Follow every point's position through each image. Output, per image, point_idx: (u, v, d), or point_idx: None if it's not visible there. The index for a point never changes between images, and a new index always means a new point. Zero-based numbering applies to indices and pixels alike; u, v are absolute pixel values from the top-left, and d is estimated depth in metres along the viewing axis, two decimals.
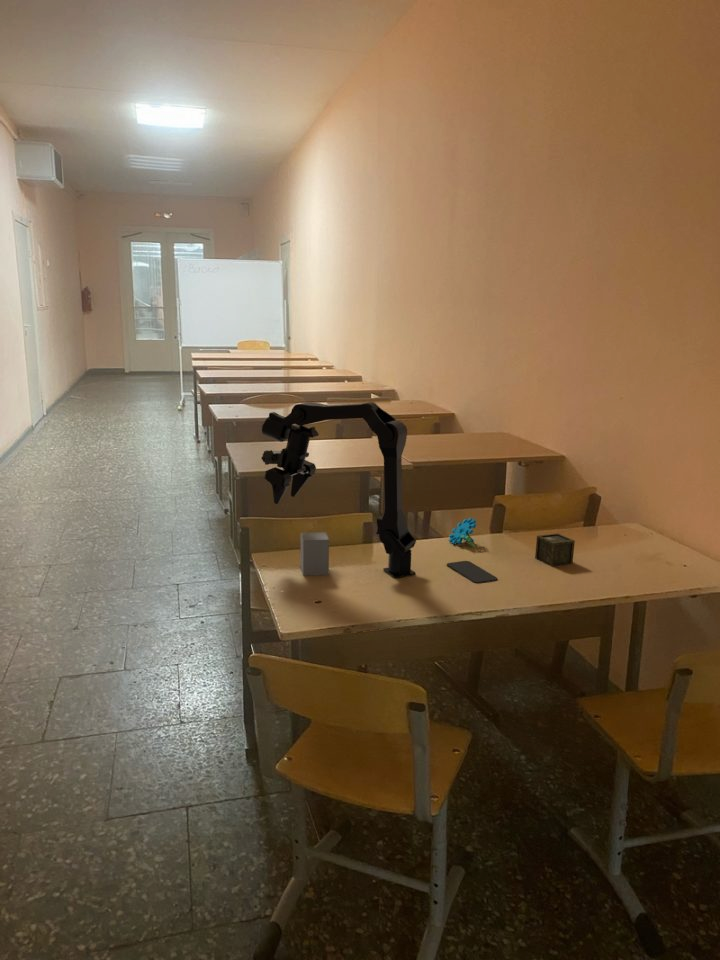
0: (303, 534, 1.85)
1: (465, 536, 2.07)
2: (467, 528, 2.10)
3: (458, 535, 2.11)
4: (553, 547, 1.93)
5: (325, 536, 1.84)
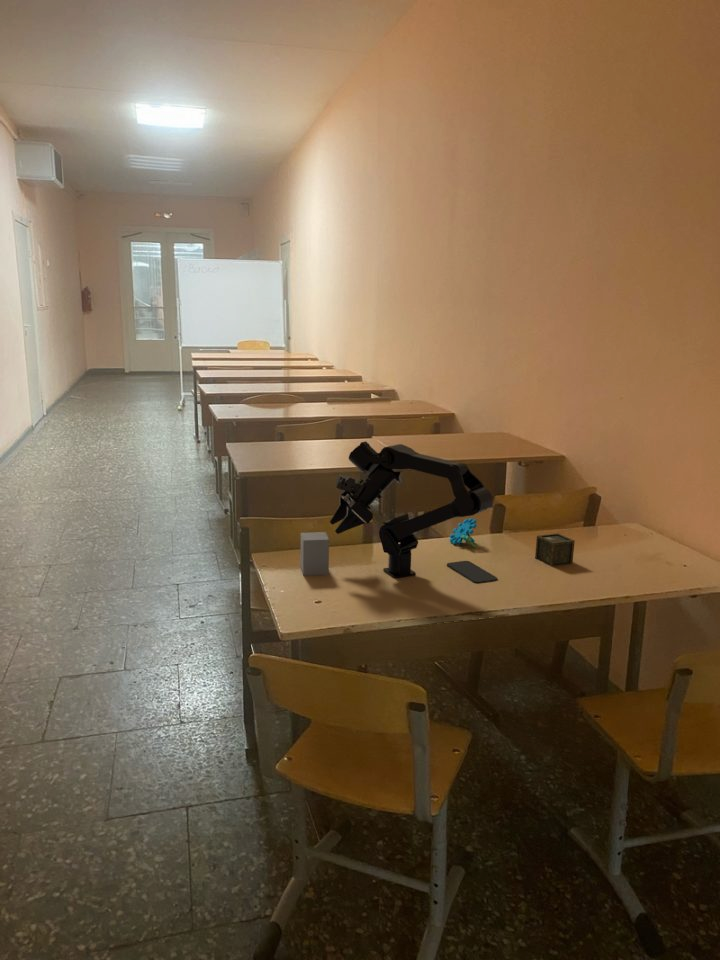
0: (303, 534, 1.85)
1: (465, 536, 2.07)
2: (467, 528, 2.10)
3: (458, 535, 2.11)
4: (553, 547, 1.93)
5: (325, 536, 1.84)
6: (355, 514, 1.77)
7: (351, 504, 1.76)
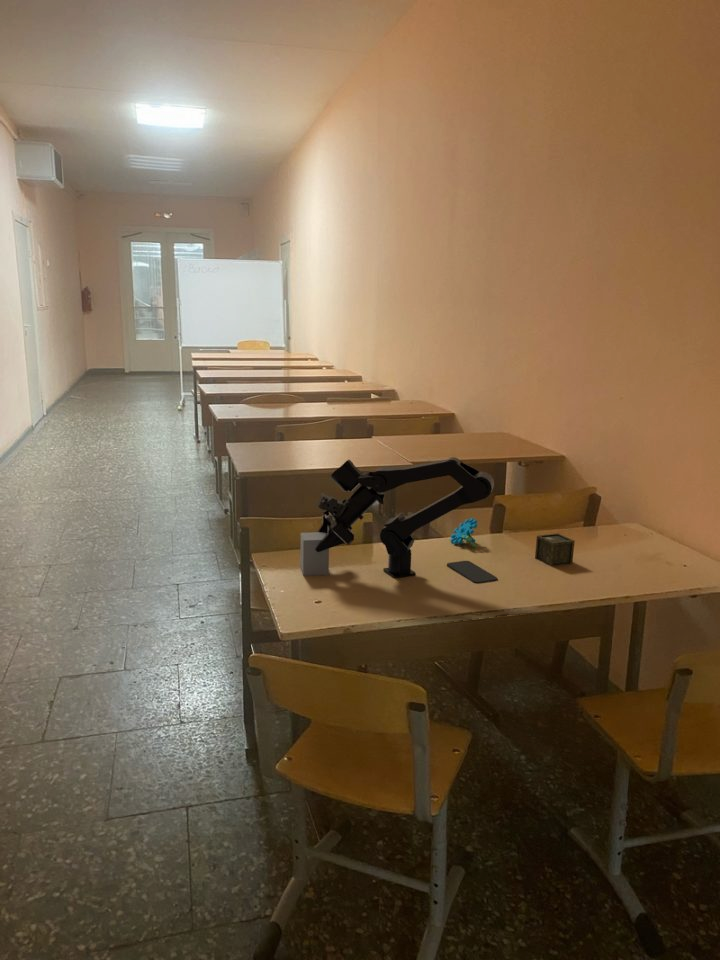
0: (303, 534, 1.85)
1: (466, 536, 2.07)
2: (468, 528, 2.10)
3: (459, 535, 2.11)
4: (553, 547, 1.93)
5: None
6: (335, 534, 1.78)
7: (332, 525, 1.76)
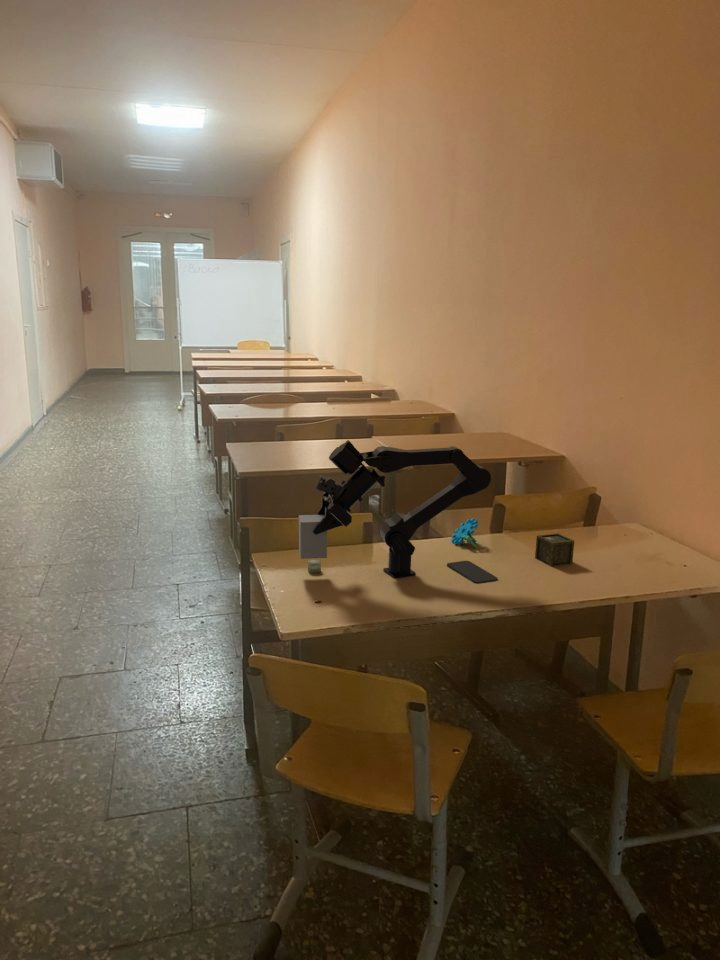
0: (301, 516, 1.80)
1: (466, 536, 2.07)
2: (469, 528, 2.10)
3: (460, 535, 2.11)
4: (552, 547, 1.93)
5: None
6: (333, 515, 1.72)
7: (330, 506, 1.71)
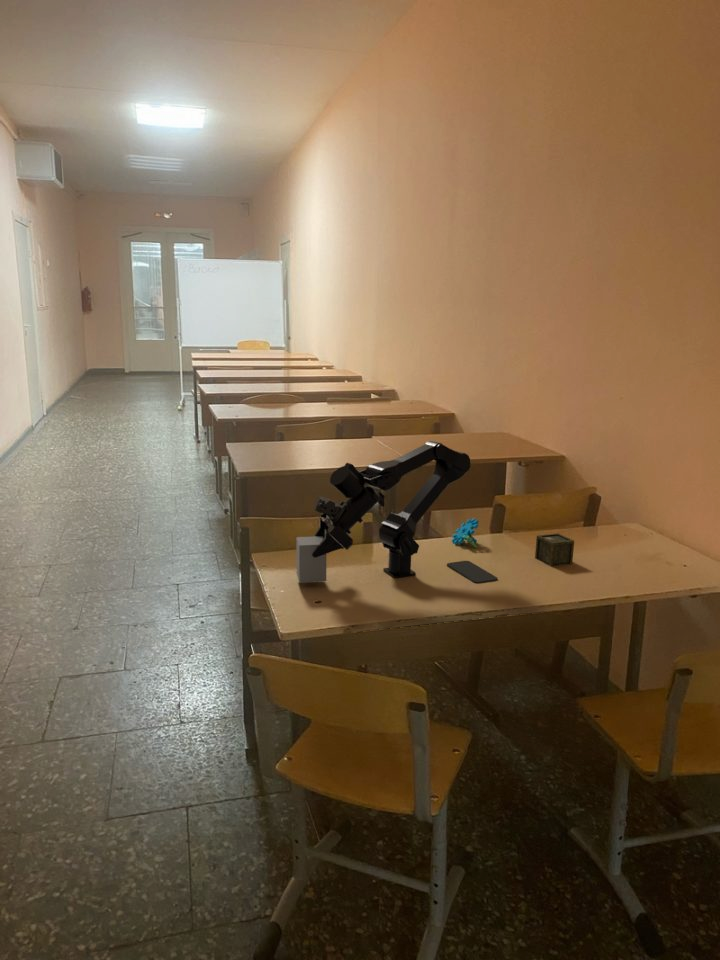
0: (299, 538, 1.75)
1: (466, 536, 2.07)
2: (469, 528, 2.10)
3: (460, 535, 2.11)
4: (552, 547, 1.93)
5: None
6: (333, 538, 1.68)
7: (330, 529, 1.67)
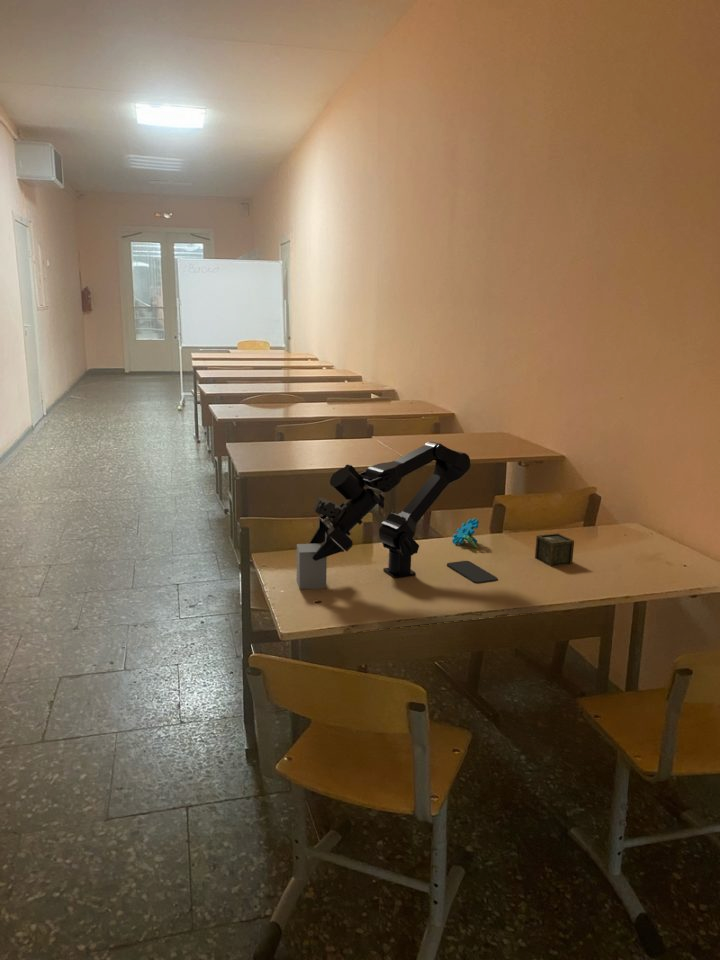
0: (299, 545, 1.76)
1: (466, 536, 2.07)
2: (469, 528, 2.09)
3: (460, 535, 2.11)
4: (552, 547, 1.93)
5: None
6: (334, 541, 1.67)
7: (330, 531, 1.67)
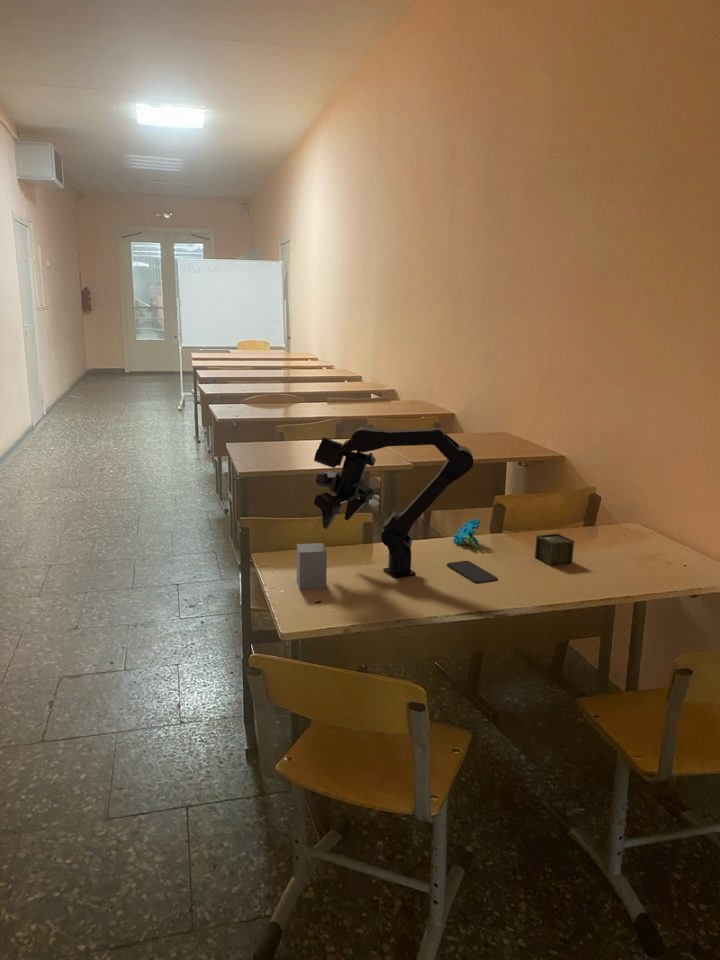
0: (299, 545, 1.76)
1: (467, 536, 2.07)
2: (470, 528, 2.09)
3: (461, 535, 2.11)
4: (552, 547, 1.93)
5: (322, 548, 1.75)
6: None
7: None
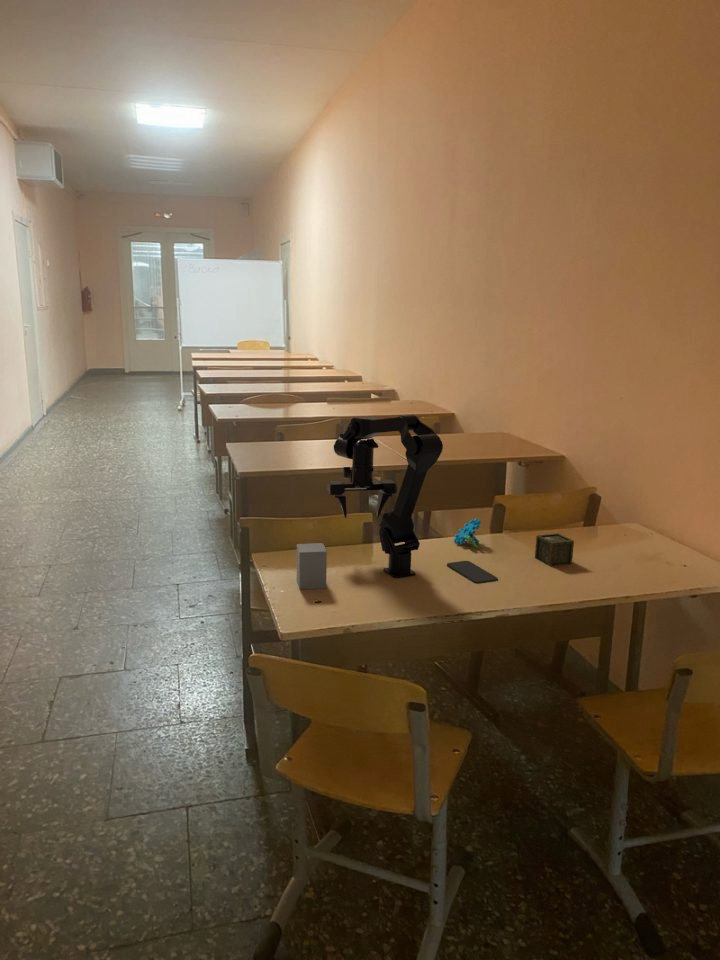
0: (299, 545, 1.76)
1: (467, 536, 2.07)
2: (471, 528, 2.09)
3: (462, 535, 2.11)
4: (551, 547, 1.93)
5: (322, 548, 1.75)
6: None
7: None
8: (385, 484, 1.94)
